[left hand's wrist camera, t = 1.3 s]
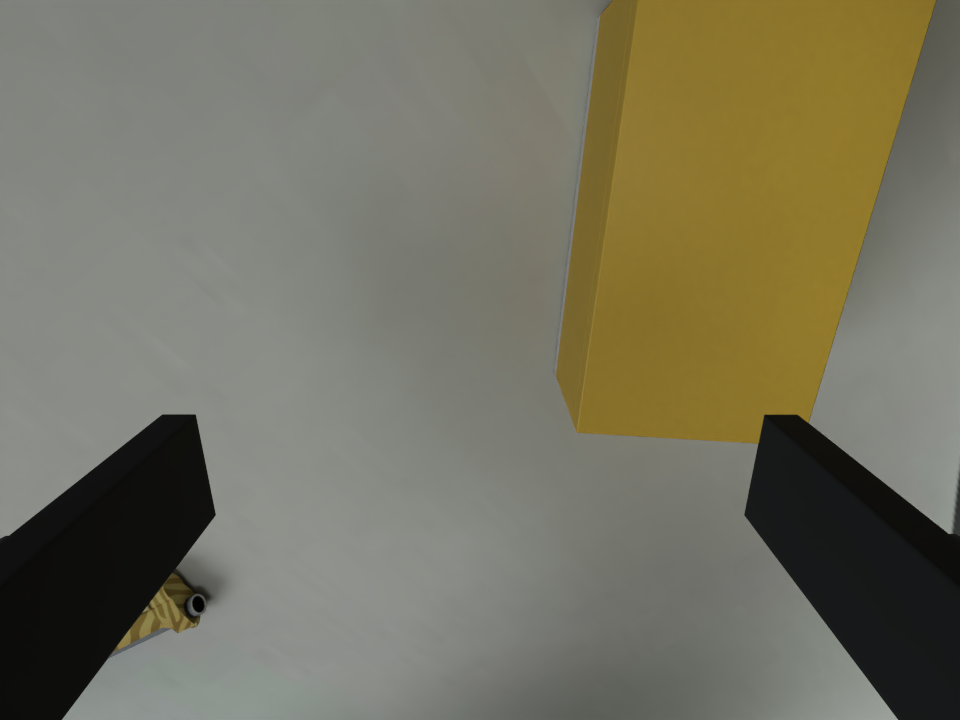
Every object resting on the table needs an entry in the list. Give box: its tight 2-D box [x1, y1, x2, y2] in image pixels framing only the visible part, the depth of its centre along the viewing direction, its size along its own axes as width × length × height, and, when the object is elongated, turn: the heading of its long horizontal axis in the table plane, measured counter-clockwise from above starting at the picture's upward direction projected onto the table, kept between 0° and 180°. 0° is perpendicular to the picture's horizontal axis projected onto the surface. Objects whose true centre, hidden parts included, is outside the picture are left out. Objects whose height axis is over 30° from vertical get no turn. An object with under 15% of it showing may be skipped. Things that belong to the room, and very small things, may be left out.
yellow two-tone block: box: [554, 0, 936, 443], centre depth 27 cm, size 19×11×8 cm, turn 176°
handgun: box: [109, 573, 206, 658], centre depth 39 cm, size 2×23×15 cm
